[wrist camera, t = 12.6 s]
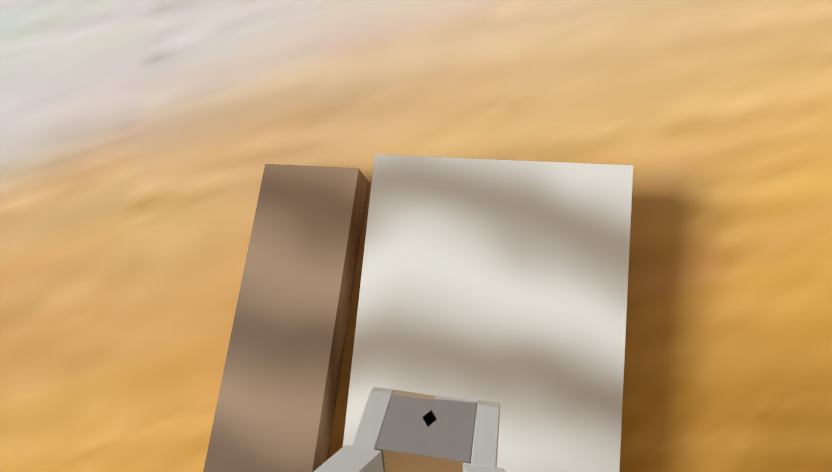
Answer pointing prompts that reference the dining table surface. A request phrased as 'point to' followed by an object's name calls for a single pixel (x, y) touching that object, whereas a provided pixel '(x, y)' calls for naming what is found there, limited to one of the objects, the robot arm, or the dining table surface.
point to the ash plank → (501, 299)
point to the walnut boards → (290, 322)
